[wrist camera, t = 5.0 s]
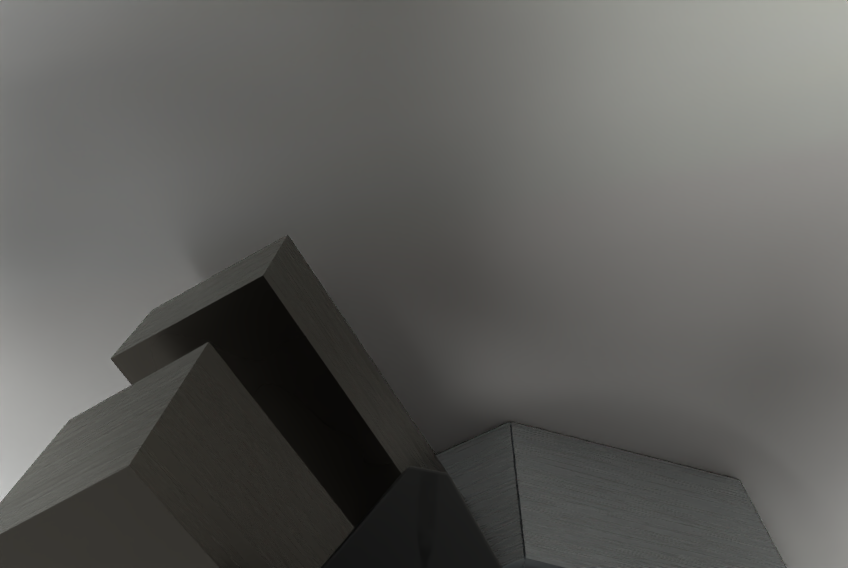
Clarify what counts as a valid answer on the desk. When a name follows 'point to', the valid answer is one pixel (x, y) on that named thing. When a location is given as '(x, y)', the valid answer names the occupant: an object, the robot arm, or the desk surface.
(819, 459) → the desk surface
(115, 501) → the lid
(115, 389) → the desk surface
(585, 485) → the pot
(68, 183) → the desk surface
